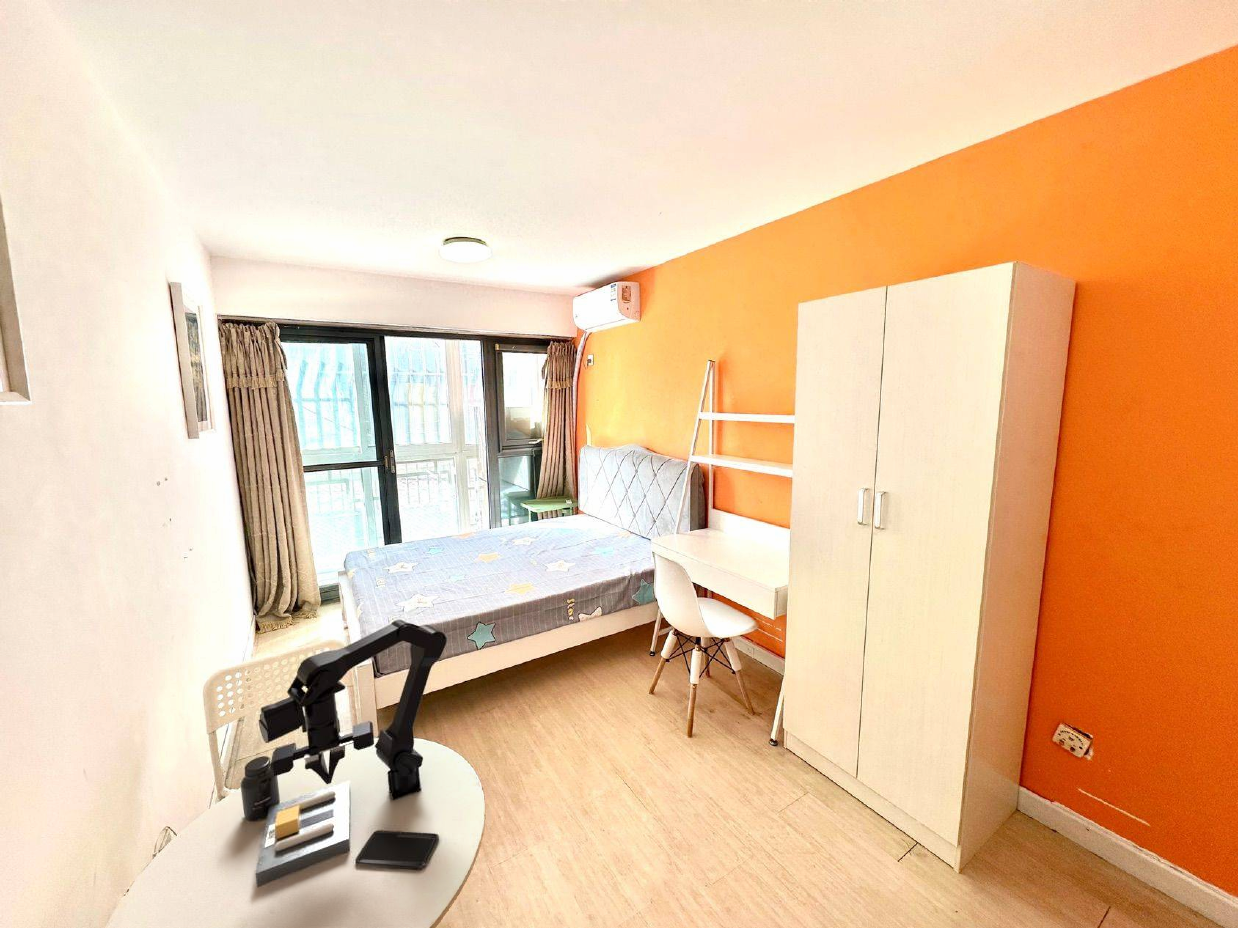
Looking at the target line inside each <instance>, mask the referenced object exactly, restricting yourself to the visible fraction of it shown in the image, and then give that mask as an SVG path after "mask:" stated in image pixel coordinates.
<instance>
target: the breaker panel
mask: <svg viewBox="0 0 1238 928" xmlns="http://www.w3.org/2000/svg"><path fill="white" fill-rule="evenodd" d="M350 783H351V782H350V780H347V781H344V782H341V783H338V784H336V785H333V786H329V787H326V788H323V789H319V790H317V791H314V792H311V793H308V794H305V795H302V796H298V797H297V798H293V799H291V800H290V799H289V800H287V801H284V802H281V803H280V804H278V805H275V806H272V807H269V811H268V816H267V817H266V821H265V826H264V831H263V835H262V841H261V845H260V849H259V855H258V861H257V865H256V868H255V869H256V870H255V879H256V880H255V881H256V886H257V888H259V887H261V886H264V885H266V884H269V883H272V882H275V881H277V880H279V879H282V878H284V877H287V876H290V875H292V874H295V873H297V872H300V871H302V870H305V869H308V868H309V867H312V866H315V865H318V864H321V863H322V862H325V861H327V860H330V859H333V858H336V857H338V856H340V855H343V854H346V853H347V852H350V851H351V798H352V797H351V792H352V791H351V784H350ZM330 791H335V793H336V795H335V797H334V798H333V799H330V800H327V801H324V802H321V803H318V804H315V805H312V806H310V807H307V808H304V809H301V810H300V814H301V820H300V828H299V831H298V832H295V833H292V834H289V835H287V836H284V837H281V838H278V839H277V838H276V831H275V823H276V818H277V812H280V811H281V810H282V808H283V807H285V806H288V805H291V804H294V803H297V802H300V801H303V800H306V799H309V798H312V797H315V796H318V795H321V794H324V793H327V792H330ZM329 823H333V824H334V829H333V830H332V831H331V832H328V833H326V834H323V835H320V836H318V837H315V838H312V839H309V840H307V841H304V842H301V843H299V844H296V845H293V846H291V847H288V848H285V849H283V850H280V851H276V850H275V845H276V843H277V842H279V841H282V840H285V839H287V838H290V837H293V836H296V835H298V834H301V833H304V832H307V831H309V830H312V829H315V828H318V827H320V826H323V825H326V824H329Z"/></svg>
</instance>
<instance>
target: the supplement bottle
mask: <svg viewBox="0 0 1238 928" xmlns="http://www.w3.org/2000/svg"><path fill="white" fill-rule="evenodd" d="M270 764H271V758H270V757H269V756H267V755H266V756H265V755H263V756H258V757H256V758H253V759H252V760H250V761H249V762H247V763H246V765H244V777H243V778H242V779H241V782H240V794H241V801H242V809H243V815H244V816H243V817H244V819H245V820H247V821H249V822H258V821H261V820H263V819H267V816H268V811H269V807H272V806H275V805H278V804H281V803H280V801H281V798H280V788H279V779H278V775H277V776H271V769H270Z"/></svg>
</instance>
